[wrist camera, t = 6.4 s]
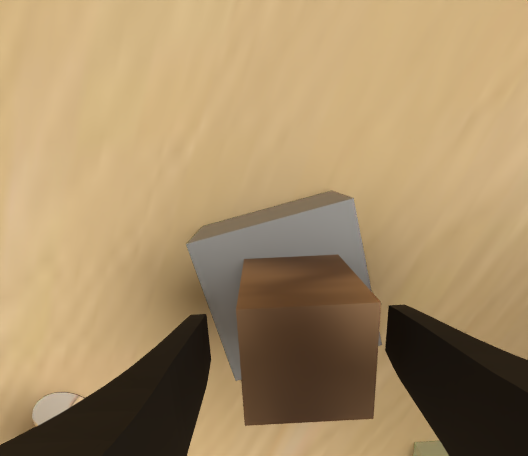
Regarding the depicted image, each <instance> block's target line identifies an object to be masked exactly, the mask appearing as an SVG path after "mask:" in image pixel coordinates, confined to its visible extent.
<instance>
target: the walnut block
mask: <svg viewBox="0 0 528 456" xmlns="http://www.w3.org/2000/svg"><path fill="white" fill-rule="evenodd" d="M380 311H381V302H380V301H379V300H378V298H377V297H376V296H375V295H374V294H373V293H372V292H371V291H370V289H369V288H368V287H367V286H366V285H365V284H364V283H363V282H362V280H361V279H360V278H359V277H358V276H357V275H356V274H355V273H354V272H353V270H352V269H351V268H350V267H349V266H348V265H347V264H346V263H345V261H344V260H343V259H342V258H341V257H340V256H339V255H338V254H337V255H317V256H296V257H275V258H254V259H244V263H243V269H242V275H241V281H240V288H239V294H238V300H237V306H236V317H237V330H238V342H239V355H240V368H241V381H242V394H243V407H244V420H245V426H246V425H265V424H283V423H302V422H321V421H339V420H358V419H373V416H374V401H375V386H376V371H377V356H378V341H379V326H380Z"/></svg>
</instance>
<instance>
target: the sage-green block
mask: <svg viewBox="0 0 528 456" xmlns="http://www.w3.org/2000/svg"><path fill="white" fill-rule="evenodd" d="M413 456H449V455H448V453H447V452H446V450H445V448H444V447H443V445H442V443H441V442H440V441H429V442H415V444H414V453H413Z"/></svg>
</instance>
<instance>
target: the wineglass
mask: <svg viewBox="0 0 528 456" xmlns="http://www.w3.org/2000/svg"><path fill="white" fill-rule="evenodd" d="M83 399H85V398H83V397H81V396H79V395H76V394H71V393H66V392H64V393H53V394H50V395H47V396H44V397H43V398H42V399H40V400H39V401H38V402H37V403H36V405H35V407H34V408H33V414H32V419H33V422H34V425H35V427H36V426H38V425H40V424H42V423H44V422H45V421H47V420H49V419H51V418H53V417H54V416H56V415H58V414H60V413H62V412H63V411H65V410H67V409H68V408H70V407H71V406H73V405H75V404H76V403H78V402H80V401H81V400H83Z"/></svg>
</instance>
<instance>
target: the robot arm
mask: <svg viewBox="0 0 528 456" xmlns="http://www.w3.org/2000/svg"><path fill="white" fill-rule="evenodd" d="M385 351H386V353H387V355H388V357H389V359H390V361H391V364H392V366H393V368H394V369H395V371H396V373H397V375H398V377H399V379H400V380H401V382H402V383H403V385H404V386H405V388H406V390H407V391H408V393H409V394H410V396H411V397H412V399H413V400H414V402H415V403H416V405H417V406H418V408H419V410H420V411H421V413H422V414H423V416H424V417H425V419H426V420H427V422H428V423H429V425H430V426H431V428H432V429H433V431H434V432H435V434H436V435H437V437H438V438H439V440H440V442H441V443H442V445H443V447H444V448H445V450H446V452H447V453H448V455H449V456H528V360H526V359H523V358H520V357H518V356H515V355H513V354H510V353H508V352H506V351H503V350H501V349H499V348H496V347H494V346H492V345H489V344H487V343H485V342H483V341H480V340H478V339H476V338H474V337H472V336H470V335H467V334H465V333H463V332H461V331H459V330H457V329H455V328H453V327H451V326H449V325H447V324H445V323H443V322H441V321H439V320H437V319H434V318H432V317H430V316H428V315H426V314H424V313H422V312H420V311H418V310H416V309H414V308H411V307H409V306H406V305H390V306H389V310H388V322H387V335H386V348H385ZM210 362H211V354H210V344H209V335H208V326H207V316H206V314H200V315H190V316H189V317H188V318H187V319H186V320H184V321H183V322H182V323H181V324H180V325H179V326H178V327H177V328H176V329H175V330H174V331H173V332H172V333H170V334H169V335H168V336H167V337H166V338H165V339H164V340H163V341H162V342H160V343H159V344H158V345H157V346H156V347H155V348H154V349H152V350H151V351H150V352H149V353H147V354H146V355H145V356H144V357H143V358H141V359H140V360H139V361H138V362H136V363H135V364H134V365H133V366H131V367H130V368H129V369H128V370H126V371H125V372H123V373H122V374H121V375H119V376H118V377H116V378H115V379H114V380H112V381H111V382H109V383H108V384H106V385H105V386H104V387H102V388H101V389H99V390H97V391H96V392H94V393H93V394H91V395H89V396H88V397H86V398H85V399H83V400H81V401H80V402H78V403H76V404H75V405H73V406H71V407H70V408H68V409H67V410H65V411H63V412H62V413H60V414H58V415H56V416H54V417H53V418H51V419H49V420H47V421H45V422H44V423H42V424H40V425H38V426H36V427H34V428H32V429H31V430H29V431H27V432H25V433H23V434H21V435H19V436H17V437H15V438H13V439H11V440H9V441H7V442H5V443H3V444H1V445H0V456H187V453H188V449H189V446H190V442H191V439H192V435H193V432H194V428H195V425H196V421H197V418H198V414H199V411H200V407H201V404H202V400H203V397H204V393H205V390H206V386H207V381H208V375H209V369H210Z"/></svg>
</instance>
